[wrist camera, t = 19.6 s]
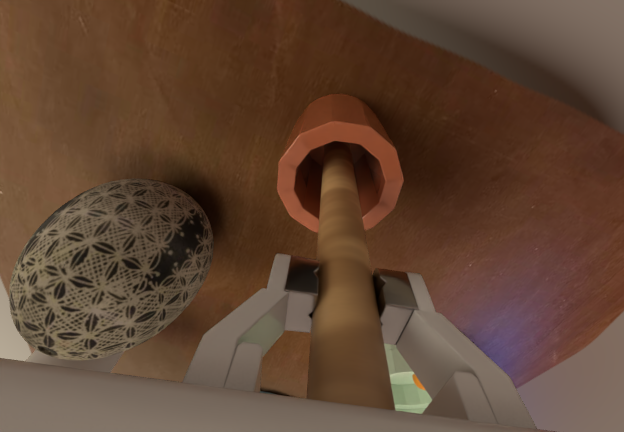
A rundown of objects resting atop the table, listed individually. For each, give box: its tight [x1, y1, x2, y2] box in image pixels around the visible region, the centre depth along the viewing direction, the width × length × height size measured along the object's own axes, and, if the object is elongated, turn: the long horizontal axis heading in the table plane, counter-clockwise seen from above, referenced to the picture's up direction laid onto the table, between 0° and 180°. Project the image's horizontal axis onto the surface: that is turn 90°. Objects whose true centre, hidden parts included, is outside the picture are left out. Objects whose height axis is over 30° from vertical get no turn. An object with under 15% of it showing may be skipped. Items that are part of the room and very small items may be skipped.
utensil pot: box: [277, 94, 404, 233], centre depth 19 cm, size 7×7×9 cm
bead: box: [412, 374, 425, 390], centre depth 38 cm, size 3×3×3 cm
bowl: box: [384, 343, 432, 414], centre depth 37 cm, size 16×16×6 cm
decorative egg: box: [9, 179, 214, 360], centre depth 22 cm, size 12×12×15 cm
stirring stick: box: [306, 141, 395, 410], centre depth 14 cm, size 2×2×20 cm
